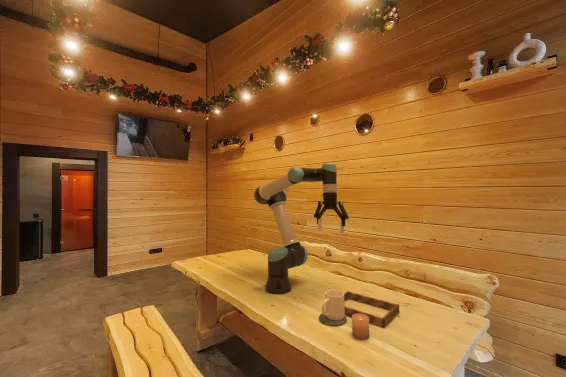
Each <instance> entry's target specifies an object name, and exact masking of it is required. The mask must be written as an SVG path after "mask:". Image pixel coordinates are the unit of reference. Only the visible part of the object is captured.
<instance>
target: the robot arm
mask: <svg viewBox="0 0 566 377" xmlns="http://www.w3.org/2000/svg"><path fill="white" fill-rule="evenodd" d="M337 172H338V171H337V164H336V163H334V162H325V163H322V165H321V167H317V168H314V167H313V168H312V167H299V166H295V167H290V168H289V170H288V171H287V173H286V174H284V175H282V176H280V177H278V178H276V179H274V180H272V181H271V182H269V183H267V184H262V185H260V186H258V187H256V188H255V190H254V193H253V198H254V200H255V201H256V202H257V203H258V204H260V205H268V208H269V209H270V210H271V211H272V213H273V217H274V220H275V221H276V225H277V228H278V232H279V235H280V237H281V241H282V246H279V247H273V248H271V249H270V250H269V251H268V253H267V272H268V274H267V279H266V283H265V289H264V290H265V291H266V293H268V292H269V293H268V294H271V293H272V294H273V295H282V294H283V295H284V294H287V293H290V292H291V291H292V283H291V281H290V278H289V269H293V268H296V267H297V268H298V267H300V266H302V265H303V266H304V265H305V264H306V262H307V260H308V257H309V256H308V250H307V248H306V247H305V246H303V245H301V242H300V241H299V240H297V238H296V235H295V231H294V229H293V226H292V224H291V221H290V220H291V219H290V217H289V215H288V212H287V209H286V204H287V203H286V201H288V200H287V199H288V198H287V197H288V195H287V191H286V189H289V188H291V187H293V186H294V185H297V184H299V183H302V182H304V183H306V182H308V183H318V182H319V183H320V182H322V192H323V193H322V200H323V201H322V200H318V202H317V207H316V209H315V212H314V213H313V218H315V219H316V225H317V231H318V232H321V231H323V219H322V217H323V215H324V214H325V212H326V211H327V210H331V211H332V210H333V211H334V212H335V214H336V215H337V217H338V218H340V220H339V231H340V232H339V233H340V234H343V233H345V227H346V220H348V219H350V217H349V216H348V215H349V214H348V213H347V210H346V208H345V206H344V204H343V203H344V202H343V201H342V200H340V201H339V200H338V193H337V191H338V184H337V177H338V176H337V174H338V173H337Z"/></svg>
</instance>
